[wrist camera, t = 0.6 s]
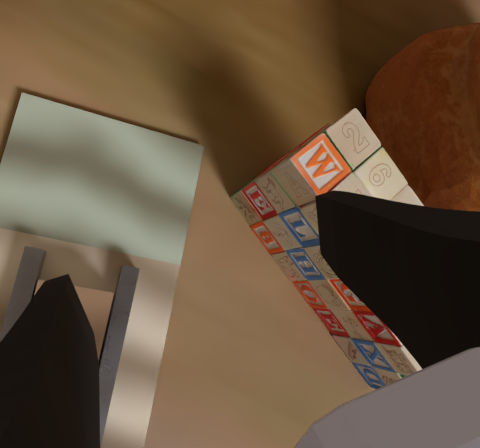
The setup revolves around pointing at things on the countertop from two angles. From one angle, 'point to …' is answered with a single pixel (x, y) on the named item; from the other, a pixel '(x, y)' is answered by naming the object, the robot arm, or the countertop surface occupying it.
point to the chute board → (101, 228)
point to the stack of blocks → (307, 235)
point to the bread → (433, 116)
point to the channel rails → (115, 327)
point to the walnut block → (93, 310)
